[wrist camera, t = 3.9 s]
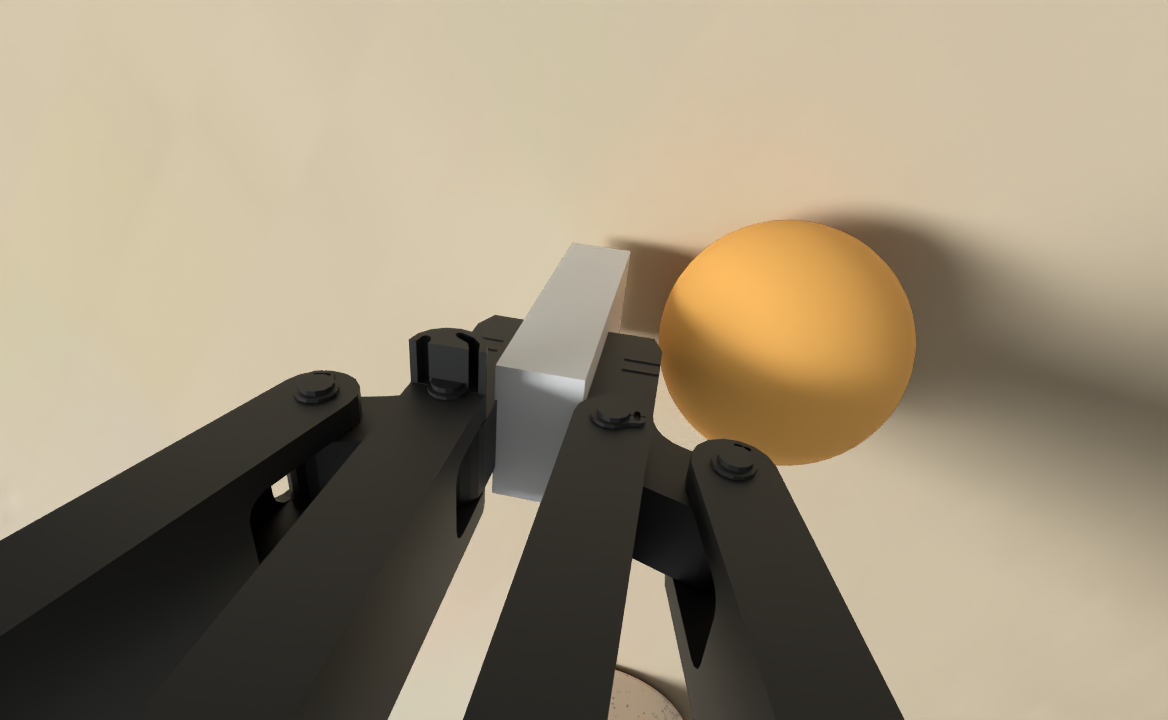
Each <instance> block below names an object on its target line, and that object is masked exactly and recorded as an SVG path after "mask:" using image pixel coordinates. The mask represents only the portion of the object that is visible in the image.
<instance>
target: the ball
mask: <svg viewBox="0 0 1168 720" xmlns="http://www.w3.org/2000/svg"><path fill="white" fill-rule="evenodd" d="M659 347H660V349H661V350H662V358H661V369H662V373H663V376H664V380H665V382H666V385H667V388H668V391H669V393H670V395H671V397H672V399H673V401H674V403H675V404H676V406H677V407H678V409H679V410H680V412H681V413H682V414H683V416H684V417H685V419H686V420H687V421H688V422H689V423H690V424H691V425H692V426H693V427H694V428H695V429H696V430H697V431H698V432H699V433H700V434H702V435H703V436H704V437H705V438H706V439H708V440H713V439H729V440H736V441H740V442H743V443H746V444H748V445H751V446H753V447H755V448H757V449H758V450H760V451H761V452H763V453H764V454H766V455H767V456H768V457H769V458H770V459H771V461H772V462H773V463H774V464H775V465H788V466H790V465H803V464H809V463H815V462H819V461H822V460H826V459H829V458H832V457H835V456H837V455H840V454H842V453H844V452H846V451H848V450H850V449H852V448H854V447H855V446H857V445H858V444H860V443H861V442H863V441H864V440H866V439H867V438H868V437H869V436H870V435H872V434H873V433H874V432H875V431H876V430H877V429H879V428H880V427H881V426H882V425H883V423H884V422H885V421H886V420H887V419H888V418H889V417H890V415H891V414H892V413H893V411H894V410H895V408H896V407H897V405H898V404H899V402H900V400H901V398H902V396H903V394H904V392H905V390H906V388H907V386H908V383H909V380H910V377H911V374H912V370H913V364H914V358H915V352H916V332H915V325H914V319H913V313H912V310H911V306H910V303H909V300H908V298H907V296H906V294H905V292H904V290H903V288H902V286H901V284H900V282H899V280H898V278H897V277H896V275H895V274H894V273H893V271H892V270H891V269H890V267H889V266H888V265H887V264H886V263H885V262H884V261H883V260H882V259H881V258H880V257H879V256H878V255H877V254H876V253H875V252H874V251H873V250H872V249H871V248H869V247H868V246H867V245H865V244H864V243H862V242H861V241H860V240H858V239H856V238H854V237H852V236H851V235H849V234H847V233H845V232H843V231H840V230H837V229H835V228H832V227H829V226H826V225H823V224H819V223H814V222H809V221H799V220H776V221H769V222H763V223H758V224H754V225H751V226H747V227H744V228H741V229H739V230H737V231H734V232H732V233H730V234H727V235H726V236H724V237H722V238H720V239H719V240H717V241H715V242H714V243H712V244H711V245H710V246H708V247H707V248H706V249H704V250H703V251H702V252H701V253H700V254H699V255H698V256H697V257H696V258H695V259H694V260H693V261H692V262H691V263H690V264H689V265H688V266H687V268H686V269H685V270H684V272H683V273H682V274H681V275H680V277H679V278H678V280H677V281H676V283H675V285H674V287H673V288H672V290H671V292H670V295H669V297H668V299H667V302H666V304H665V308H664V311H663V315H662V319H661V323H660V331H659Z"/></svg>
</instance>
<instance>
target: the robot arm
mask: <svg viewBox="0 0 1168 720" xmlns="http://www.w3.org/2000/svg"><path fill="white" fill-rule="evenodd" d="M630 252H631V251H626V250H620V249H613V248H606V247H599V246H592V245H586V244H579V243H572V244H571V246H570V247H569V249H568V250H567V252H566V254H565V255H564V257H563V258H562V260H561V262H560V263H559V265H558V266H557V268H556V270H555V271H554V273H553V274H552V276H551V278H550V279H549V281H548V282H547V284H546V285H545V287H544V289H543V290H542V292H541V293H540V295H539V297H538V298H537V300H536V301H535V303H534V305H533V306H532V308H531V309H530V311H529V313H528V314H527V316H526V317H525V319H524V320H523V319H516V318H510V317H504V316H498V315H494V316H492V317H490V318H488V319H486V320H484V321H482V322H480V323H478V325H477V326H476V327H475V329H474V330H473V331H472V332H470V331H467V330H463V329H455V328H439V329H431V330H427V331H424V332H421V333H418V334H416V335H415V336H413V337H412V338H410V339H409V351H410V372H411V383H410V384H409V385H408V386H407V388H406V389H405V390H404V391H403V392H402V394H401V395H399V396H379V397H361V394H360V386H359V384H358V382H357V381H356V379H354V378H353V377H351V376H349V375H347V374H345V373H340V372H335V371H326V370H325V371H323V370H321V371H313V372H309V373H304V374H300V375H297V376H295V377H292V378H290V379H288V380H286V381H284V382H282V383H280V384H278V385H277V386H275V387H273V388H271V389H270V390H268V391H266V392H264V393H262V394H261V395H259V396H257V397H255V398H253V399H252V400H250V401H248V402H246V403H245V404H243V405H241V406H239V407H237V408H236V409H234V410H232V411H230V412H229V413H227V414H225V415H223V416H221V417H220V418H218V419H216V420H214V421H213V422H211V423H209V424H207V425H205V426H204V427H202V428H200V429H198V430H196V431H195V432H193V433H191V434H189V435H188V436H186V437H184V438H182V439H180V440H179V441H177V442H175V443H173V444H172V445H170V446H168V447H166V448H164V449H163V450H161V451H159V452H157V453H156V454H154V455H152V456H150V457H148V458H147V459H145V460H143V461H141V462H140V463H138V464H136V465H134V466H132V467H131V468H129V469H127V470H125V471H123V472H122V473H120V474H118V475H116V476H115V477H113V478H111V479H109V480H107V481H106V482H104V483H102V484H100V485H99V486H97V487H95V488H93V489H91V490H90V491H88V492H86V493H84V494H83V495H81V496H79V497H77V498H75V499H74V500H72V501H70V502H68V503H66V504H65V505H63V506H61V507H59V508H58V509H56V510H54V511H52V512H50V513H49V514H47V515H45V516H43V517H42V518H40V519H38V520H36V521H34V522H33V523H31V524H29V525H27V526H26V527H24V528H22V529H20V530H18V531H17V532H15V533H13V534H11V535H10V536H8V537H6V538H4V539H2V540H1V541H0V720H388V717H389V715H390V713H391V711H392V709H393V707H394V704H395V702H396V700H397V698H398V696H399V694H400V691H401V689H402V687H403V685H404V683H405V681H406V678H407V676H408V674H409V672H410V670H411V667H412V665H413V663H414V661H415V659H416V657H417V654H418V652H419V650H420V648H421V646H422V644H423V641H424V639H425V637H426V635H427V633H428V631H429V628H430V626H431V624H432V622H433V620H434V618H435V615H436V613H437V611H438V609H439V607H440V604H441V602H442V600H443V598H444V596H445V594H446V591H447V589H448V587H449V585H450V583H451V581H452V578H453V576H454V574H455V572H456V570H457V568H458V565H459V563H460V561H461V559H462V557H463V555H464V552H465V550H466V548H467V546H468V544H469V541H470V539H471V537H472V535H473V533H474V531H475V528H476V526H477V524H478V522H479V520H480V518H481V515H482V513H483V509H484V503H485V486H486V484H487V482H488V480H489V478H490V476H491V474H492V472H493V482H492V493H496V494H502V495H507V496H512V497H517V498H522V499H527V500H532V501H538V502H541V503H540V506H539V509H538V512H537V514H536V517H535V520H534V523H533V526H532V528H531V531H530V534H529V537H528V540H527V542H526V545H525V548H524V551H523V554H522V556H521V559H520V562H519V565H518V567H517V570H516V573H515V576H514V579H513V581H512V584H511V587H510V590H509V593H508V595H507V598H506V601H505V604H504V607H503V609H502V612H501V615H500V618H499V620H498V623H497V626H496V629H495V632H494V634H493V637H492V640H491V643H490V646H489V648H488V651H487V654H486V657H485V660H484V662H483V665H482V668H481V671H480V673H479V676H478V679H477V682H476V685H475V687H474V690H473V693H472V696H471V699H470V701H469V704H468V707H467V710H466V713H465V715H464V718H463V720H608V714H609V707H610V701H611V694H612V688H613V681H614V674H615V668H616V661H617V655H618V648H619V641H620V635H621V628H622V622H623V615H624V608H625V602H626V595H627V589H628V582H629V575H630V569H631V562H632V558H633V559H635V560H637V561H639V562H641V563H643V564H645V565H647V566H649V567H651V568H653V569H655V570H657V571H659V572H661V573H664V574H665V588H666V593H667V597H668V602H669V607H670V611H671V616H672V621H673V625H674V630H675V635H676V639H677V644H678V649H679V654H680V658H681V663H682V668H683V672H684V677H685V682H686V686H687V691H688V696H689V700H690V705H691V710H692V715H693V719H694V720H904V718H903V716H902V714H901V712H900V710H899V708H898V706H897V704H896V702H895V700H894V698H893V696H892V694H891V692H890V690H889V688H888V686H887V684H886V682H885V680H884V678H883V676H882V674H881V672H880V670H879V668H878V666H877V664H876V662H875V661H874V659H873V657H872V655H871V653H870V651H869V649H868V647H867V645H866V643H865V641H864V639H863V637H862V635H861V633H860V631H859V629H858V627H857V625H856V623H855V621H854V619H853V617H852V615H851V613H850V611H849V609H848V607H847V605H846V603H845V601H844V599H843V597H842V595H841V593H840V591H839V589H838V588H837V586H836V584H835V582H834V580H833V578H832V576H831V574H830V572H829V570H828V568H827V566H826V564H825V562H824V560H823V558H822V556H821V554H820V552H819V550H818V548H817V546H816V544H815V542H814V540H813V538H812V536H811V534H810V532H809V530H808V528H807V526H806V524H805V522H804V520H803V518H802V517H801V515H800V513H799V511H798V509H797V507H796V505H795V503H794V501H793V499H792V497H791V495H790V493H789V491H788V489H787V487H786V485H785V483H784V481H783V479H782V477H781V475H780V473H779V471H778V469H777V467H776V466H775V464H774V463H773V462H772V461H771V459H770V458H769V457H768V456H767V455H766V454H764V453H763V452H761V451H760V450H758V449H757V448H755V447H753V446H751V445H748V444H746V443H743V442H740V441H736V440H729V439H713V440H707V441H705V442H703V443H701V444H698V445H697V446H696V448H695V449H694V450H693V452H692V451H690V450H687V449H685V448H683V447H681V446H678V445H676V444H674V443H672V442H671V441H669V440H668V439H667V438H665V437H664V436H663V435H662V434H661V433H660V432H659V431H658V430H657V428H656V426H655V424H654V422H653V412H654V405H655V398H656V392H657V385H658V378H659V372H660V365H661V358H662V350H661V349H660V347H659V346H658V344H657V342H656V341H655V339H650V338H644V337H638V336H632V335H626V334H620V327H621V319H622V312H623V304H624V297H625V289H626V282H627V274H628V267H629V259H630ZM286 475H287V478H288V483H289V490H288V491H286V492H285V493H284V494H282V495H280V496H278V497H276V498H274V496H273V493H272V488H271V486H272V485H273V484H275V483H276V482H277V481H279V480H280V479H282V478H283V477H284V476H286Z"/></svg>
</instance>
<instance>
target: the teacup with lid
mask: <svg viewBox="0 0 1168 720" xmlns="http://www.w3.org/2000/svg"><path fill="white" fill-rule="evenodd" d="M608 720H683V719H682V717H681V715H680V714H679V712H678V711H677V710H676V708H675V707H674V706H673V705H672V704H671V703H670V702H669V701H668V700H667V699H666V698H665V697H664V696H663V695H662V694H661V693H659V692H658V691H657V690H655V689H654V688H652V687H651V686H650V685H648V684H646V683H644V682H643V681H641V680H639V679H637V678H635V677H633V676H631V675H628V674H626V673H623V672H621V671H618V670H615V674H614V681H613V688H612V694H611V701H610V707H609V714H608Z"/></svg>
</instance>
